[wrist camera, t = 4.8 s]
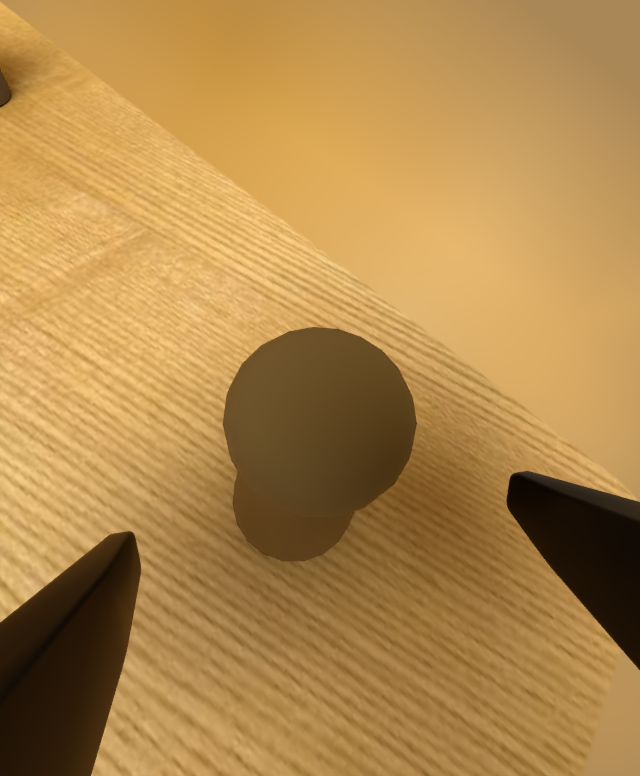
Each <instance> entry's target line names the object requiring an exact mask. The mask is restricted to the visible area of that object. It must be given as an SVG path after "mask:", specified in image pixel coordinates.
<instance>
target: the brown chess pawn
mask: <svg viewBox="0 0 640 776" xmlns="http://www.w3.org/2000/svg"><path fill="white" fill-rule="evenodd" d="M416 425H417V423H416V416H415V410H414V403H413V397H412V395H411V393H410V391H409V389H408V387H407V385H406V383H405V381H404V379H403V377H402V375H401V373H400V371H399V369H398V367H397V366H396V365H395V364H394V363H393V362H392V361H391V360H390V359H389V358H388V357H387V355H386V354H385V353H384V352H383V351H382V350H380V349H379V348H377V347H376V346H374V345H373V344H371V343H370V342H368V341H366V340H365V339H363V338H362V337H359V336H356V335H354V334H351V333H348V332H345V331H342V330H339V329H329V328H317V327H312V328H306V329H301V330H295V331H290V332H287V333H285V334H283V335H281V336H279V337H277V338H275V339H273V340H271V341H269V342H267V343H265V344H263V345H262V346H260V347H259V348H258V349H257V350H256V351H255V352H254V353H253V354H252V355H251V356H250V357H249V358H248V359H247V360H246V361H244V362H243V363H242V365H241V367H240V369H239V371H238V372H237V374H236V376H235V378H234V380H233V382H232V384H231V386H230V388H229V391H228V394H227V397H226V404H225V412H224V419H223V427H224V431H225V436H226V440H227V445H228V449H229V454H230V457H231V460H232V462H233V464H234V465H235V467H236V468H237V470H238V474H237V478H236V482H235V488H234V497H233V507H234V511H235V516H236V521H237V524H238V526H239V527H240V529H241V531H242V532H243V534H244V536H245V537H246V539H247V541H248V542H249V543H251V544H252V545H253V546H254V547H256V548H257V549H258V550H259V551H260V552H262V553H263V554H265V555H267V556H270V557H273V558H276V559H278V560H281V561H305V560H308V559H311V558H313V557H316V556H319V555H322V554H324V553H325V552H326V551H327V550H328V549H330V548H331V547H332V546H333V545H335V544H336V543H337V542H338V541H339V540H340V538H341V536H342V535H343V533H344V532H345V530H346V529H347V527H348V525H349V523H350V521H351V518H352V516H353V514H354V511H356V510H359V509H362V508H364V507H366V506H367V505H368V504H370V503H371V502H372V501H374V500H375V499H376V498H377V497H379V496H380V495H381V494H382V493H384V492H385V491H386V490H387V489H389V488H390V487H391V486H393V485H394V484H395V482H396V480H397V479H398V477H399V475H400V474H401V472H402V470H403V469H404V467H405V465H406V464H407V462H408V460H409V458H410V454H411V451H412V446H413V441H414V435H415V430H416Z"/></svg>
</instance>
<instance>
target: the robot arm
mask: <svg viewBox="0 0 640 776" xmlns="http://www.w3.org/2000/svg"><path fill="white" fill-rule="evenodd" d="M507 507H508V509H509V511H510V513H511V514H512V515H513V517H514V518H515V520H516V521H517V522H518V524H519V525H520V526H521V528H522V529H523V530H524V532H525V533H526V535H527V536H528V537H529V539H530V540H531V541H532V543H533V544H534V546H535V547H536V548H537V550H538V551H539V552H540V554H541V555H542V556H543V558H544V559H545V560H546V562H547V563H548V564H549V565H550V567H551V568H552V569H553V570H554V571H555V573H556V574H557V575H558V576H559V577H560V578H561V580H562V581H563V582H564V583H565V584H566V585H567V587H568V588H569V589H570V590H571V591H572V592H573V594H574V595H575V596H576V597H577V598H578V599H579V600H580V602H581V603H582V604H583V605H584V606H585V607H586V609H587V610H588V611H589V612H590V613H591V614H592V616H593V617H594V618H595V619H596V620H597V621H598V622H599V624H600V625H601V626H602V627H603V628H604V629H605V631H606V632H607V633H608V634H609V635H610V636H611V638H612V639H613V640H614V641H615V642H616V643H617V644H618V646H619V647H620V648H621V649H622V650H623V651H624V653H625V654H626V655H627V656H628V657H629V658H630V660H631V661H632V662H633V663H634V664H635V665H636V666H637V667H638V669H639V670H640V502H638V501H634V500H630V499H627V498H623V497H620V496H616V495H612V494H609V493H605V492H602V491H598V490H594V489H591V488H587V487H584V486H580V485H576V484H573V483H569V482H566V481H562V480H559V479H555V478H551V477H548V476H544V475H541V474H537V473H533V472H529V471H524V472H518V473H514V474H512V475H511V477H510V480H509V487H508V494H507ZM140 575H141V563H140V558H139V553H138V548H137V543H136V538H135V535H134V533H133V532H131V531H128V532H121V533H114V534H111V535H109V536H108V537H106V538H105V539H104V540H103V541H101V542H100V543H99V544H98V545H96V546H95V547H94V548H93V549H91V550H90V551H89V552H88V553H86V554H85V555H84V556H83V557H81V558H80V559H79V560H78V561H76V562H75V563H74V564H73V565H72V566H70V567H69V568H68V569H67V570H65V571H64V572H63V573H62V574H60V575H59V576H58V577H57V578H55V579H54V580H53V581H52V582H50V583H49V584H48V585H47V586H45V587H44V588H43V589H42V590H40V591H39V592H38V593H37V594H35V595H34V596H33V597H32V598H30V599H29V600H28V601H27V602H25V603H24V604H23V605H22V606H20V607H19V608H18V609H17V610H15V611H14V612H13V613H12V614H10V615H9V616H8V617H7V618H5V619H4V620H3V621H2V622H0V776H91V774H92V770H93V767H94V764H95V760H96V757H97V753H98V750H99V746H100V743H101V740H102V736H103V733H104V729H105V726H106V722H107V719H108V715H109V712H110V709H111V705H112V702H113V698H114V695H115V691H116V688H117V685H118V681H119V678H120V674H121V671H122V667H123V663H124V660H125V656H126V652H127V647H128V642H129V636H130V631H131V625H132V620H133V614H134V609H135V603H136V598H137V592H138V586H139V581H140Z"/></svg>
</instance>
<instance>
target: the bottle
mask: <svg viewBox="0 0 640 776" xmlns="http://www.w3.org/2000/svg"><path fill="white" fill-rule="evenodd" d="M10 96H11V92H10V89H9V87H8V84H7V82H6V80H5V78H4V76H3V74H2V72H1V70H0V105H2V104H4V103H5V102H7V101H8V99H9V98H10Z"/></svg>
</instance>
